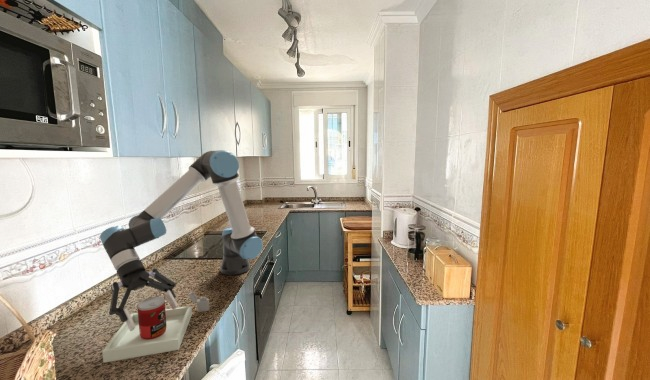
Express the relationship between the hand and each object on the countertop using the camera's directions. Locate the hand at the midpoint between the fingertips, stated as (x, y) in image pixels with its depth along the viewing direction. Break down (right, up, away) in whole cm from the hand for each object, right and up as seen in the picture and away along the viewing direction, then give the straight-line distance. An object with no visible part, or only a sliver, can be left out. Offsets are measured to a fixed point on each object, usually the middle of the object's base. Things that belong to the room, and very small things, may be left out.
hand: (155, 317), depth 89 cm
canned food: (-2, -6, +2) cm, 7 cm away
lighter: (+7, -5, +17) cm, 19 cm away
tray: (-2, -7, +2) cm, 7 cm away
